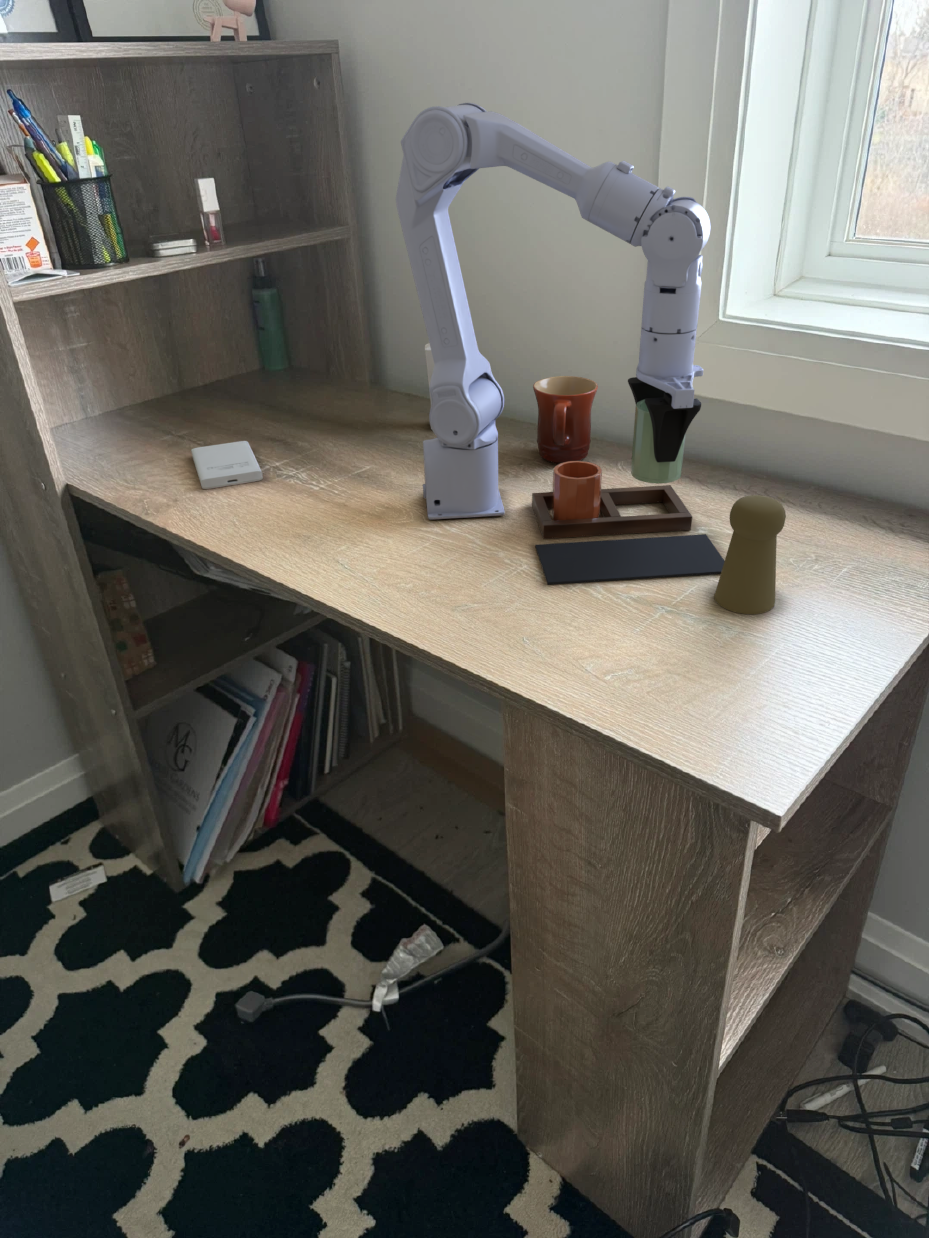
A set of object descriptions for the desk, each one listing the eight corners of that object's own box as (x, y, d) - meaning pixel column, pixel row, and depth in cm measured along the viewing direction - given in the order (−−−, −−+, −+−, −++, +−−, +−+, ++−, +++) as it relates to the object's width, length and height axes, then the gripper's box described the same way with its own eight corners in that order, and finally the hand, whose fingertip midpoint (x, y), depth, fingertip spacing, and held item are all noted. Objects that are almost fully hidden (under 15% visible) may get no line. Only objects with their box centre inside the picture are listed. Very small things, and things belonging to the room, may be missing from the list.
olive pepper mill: (739, 619, 89) (755, 518, 83) (702, 592, 93) (714, 494, 88) (787, 605, 91) (806, 506, 85) (749, 579, 95) (764, 483, 90)
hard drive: (249, 450, 132) (263, 480, 122) (192, 459, 130) (202, 490, 120) (247, 440, 132) (261, 469, 122) (190, 448, 129) (199, 478, 119)
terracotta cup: (556, 531, 107) (558, 480, 103) (549, 511, 111) (550, 462, 108) (603, 528, 107) (606, 477, 103) (593, 508, 112) (596, 459, 108)
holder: (543, 539, 105) (543, 525, 104) (531, 506, 113) (532, 492, 112) (691, 530, 106) (692, 516, 105) (669, 498, 114) (670, 484, 113)
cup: (637, 485, 100) (643, 415, 96) (625, 466, 105) (630, 399, 100) (687, 482, 100) (694, 412, 96) (673, 463, 105) (679, 396, 101)
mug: (536, 444, 131) (537, 374, 126) (596, 447, 130) (600, 376, 124) (524, 476, 121) (525, 402, 116) (589, 479, 120) (593, 404, 114)
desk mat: (547, 584, 96) (547, 582, 95) (535, 546, 103) (535, 544, 103) (731, 573, 97) (731, 570, 97) (705, 536, 104) (706, 534, 104)
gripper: (729, 343, 88) (713, 473, 95) (686, 310, 100) (674, 427, 107) (658, 347, 87) (647, 477, 94) (623, 313, 100) (616, 430, 107)
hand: (658, 451), depth 101 cm, fingers closed on cup, 5 cm apart
